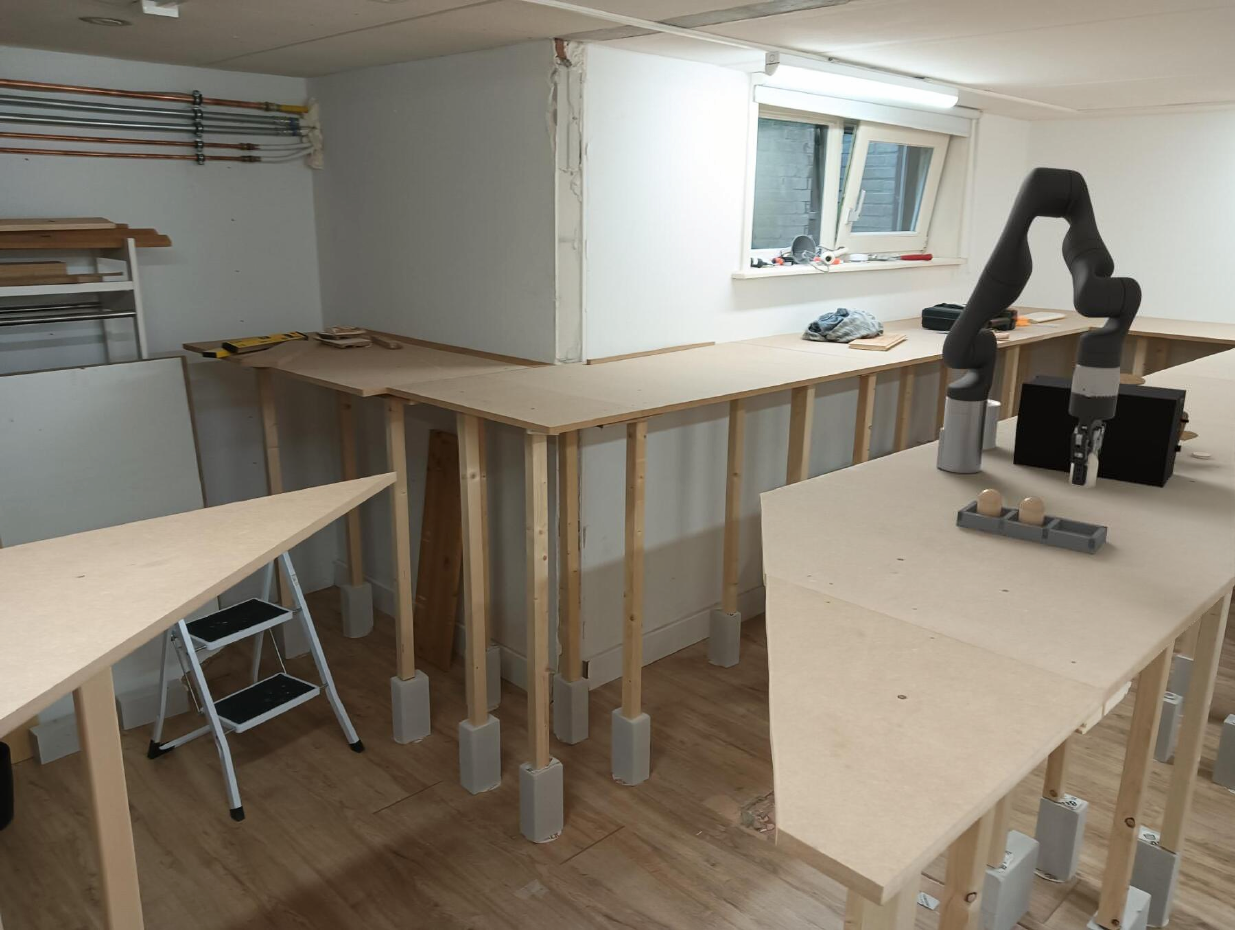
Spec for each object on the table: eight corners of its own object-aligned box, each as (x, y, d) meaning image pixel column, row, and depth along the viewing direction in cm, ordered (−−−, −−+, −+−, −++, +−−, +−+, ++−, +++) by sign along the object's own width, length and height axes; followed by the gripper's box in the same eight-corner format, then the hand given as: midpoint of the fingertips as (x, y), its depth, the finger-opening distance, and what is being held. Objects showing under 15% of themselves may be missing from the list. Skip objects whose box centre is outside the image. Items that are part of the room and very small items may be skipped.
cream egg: (1065, 484, 173) (1070, 451, 172) (1072, 479, 177) (1076, 447, 175) (1091, 488, 171) (1096, 455, 169) (1098, 483, 174) (1102, 451, 172)
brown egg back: (972, 519, 186) (975, 489, 185) (980, 514, 189) (983, 484, 188) (995, 524, 183) (998, 494, 182) (1002, 518, 187) (1006, 488, 185)
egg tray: (956, 525, 186) (957, 511, 185) (972, 513, 193) (974, 500, 192) (1092, 554, 171) (1095, 539, 170) (1105, 540, 177) (1107, 526, 177)
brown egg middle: (1014, 528, 181) (1018, 497, 180) (1021, 522, 185) (1025, 492, 183) (1038, 533, 179) (1042, 502, 177) (1045, 527, 182) (1049, 496, 180)
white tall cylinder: (1001, 450, 241) (1010, 373, 236) (965, 450, 242) (973, 372, 236) (986, 440, 252) (994, 365, 246) (951, 440, 252) (959, 365, 246)
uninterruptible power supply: (1030, 451, 241) (1039, 374, 235) (1181, 474, 221) (1195, 390, 215) (1011, 465, 228) (1021, 383, 223) (1169, 490, 208) (1184, 401, 203)
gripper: (1083, 382, 177) (1071, 470, 181) (1060, 393, 166) (1049, 486, 171) (1127, 386, 172) (1114, 476, 177) (1107, 399, 161) (1093, 494, 166)
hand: (1082, 481), depth 174 cm, fingers closed on cream egg, 4 cm apart
